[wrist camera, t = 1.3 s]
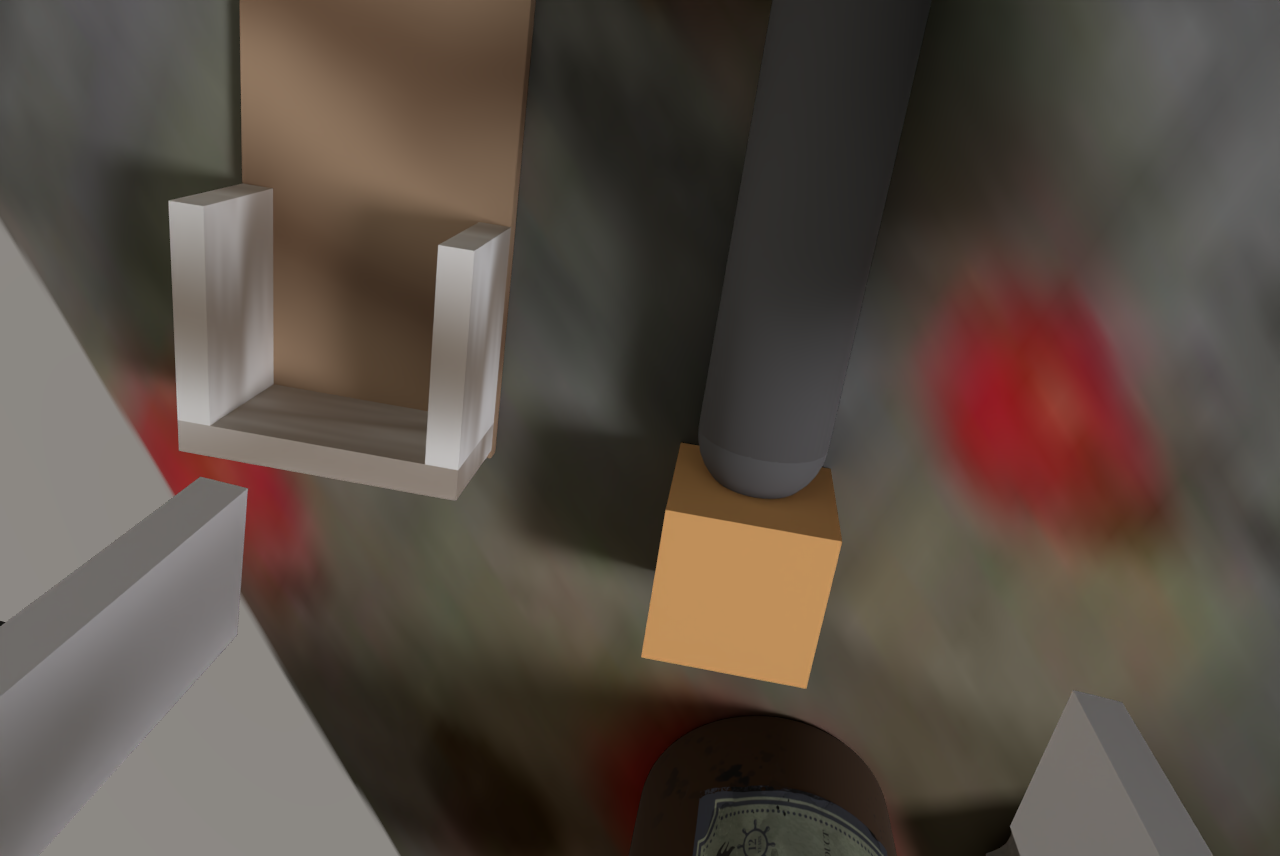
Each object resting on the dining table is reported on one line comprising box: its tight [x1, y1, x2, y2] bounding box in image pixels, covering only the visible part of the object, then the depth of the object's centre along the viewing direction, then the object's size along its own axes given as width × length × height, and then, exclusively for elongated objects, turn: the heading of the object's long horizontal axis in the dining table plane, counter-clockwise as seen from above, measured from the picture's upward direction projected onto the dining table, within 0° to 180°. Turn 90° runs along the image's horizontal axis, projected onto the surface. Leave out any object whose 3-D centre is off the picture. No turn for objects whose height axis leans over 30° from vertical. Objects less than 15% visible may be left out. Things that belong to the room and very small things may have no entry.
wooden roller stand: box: [168, 0, 536, 501], centre depth 26 cm, size 26×9×6 cm, turn 172°
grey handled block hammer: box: [641, 0, 932, 689], centre depth 27 cm, size 22×5×5 cm, turn 172°
